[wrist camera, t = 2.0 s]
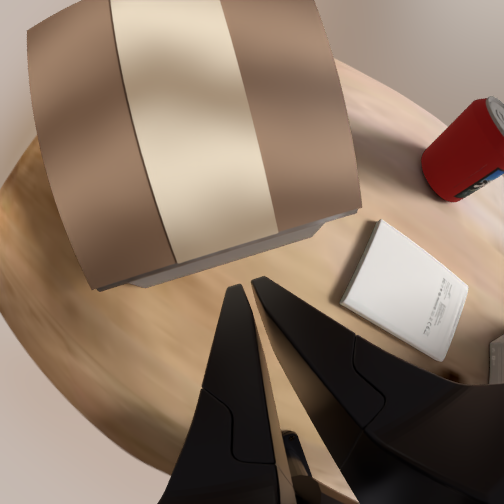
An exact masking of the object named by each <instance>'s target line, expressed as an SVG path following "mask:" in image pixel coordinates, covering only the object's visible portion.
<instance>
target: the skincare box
mask: <svg viewBox="0 0 504 504" xmlns="http://www.w3.org/2000/svg"><path fill="white" fill-rule="evenodd" d="M501 383H504V334H503V335H502V336H500V337H499V338H497V339H496V340H494V341H492V342H491V343H490V380H489V384H501Z"/></svg>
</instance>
